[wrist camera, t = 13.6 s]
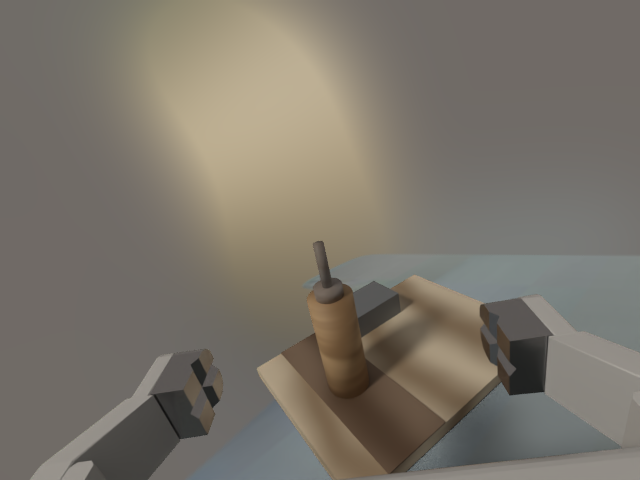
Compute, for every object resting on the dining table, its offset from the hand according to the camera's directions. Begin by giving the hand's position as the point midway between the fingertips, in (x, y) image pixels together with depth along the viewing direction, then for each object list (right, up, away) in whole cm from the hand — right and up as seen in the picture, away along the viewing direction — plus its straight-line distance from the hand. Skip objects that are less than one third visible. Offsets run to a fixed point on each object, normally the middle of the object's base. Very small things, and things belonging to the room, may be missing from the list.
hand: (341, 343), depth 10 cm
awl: (+2, -8, +16) cm, 18 cm away
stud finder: (+4, -5, +23) cm, 24 cm away
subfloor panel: (+6, -7, +19) cm, 21 cm away
